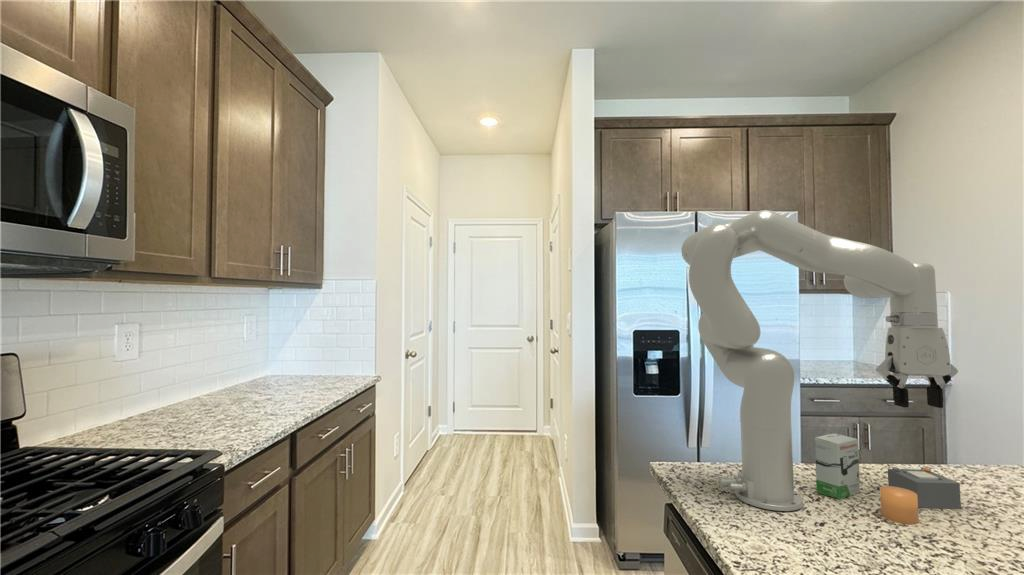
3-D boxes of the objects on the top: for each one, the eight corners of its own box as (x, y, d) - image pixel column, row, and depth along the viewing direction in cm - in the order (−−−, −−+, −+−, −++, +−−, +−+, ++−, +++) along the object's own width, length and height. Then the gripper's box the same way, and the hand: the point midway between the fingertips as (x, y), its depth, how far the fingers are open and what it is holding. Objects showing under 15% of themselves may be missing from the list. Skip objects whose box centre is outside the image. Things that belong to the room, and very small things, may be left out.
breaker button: (920, 499, 94) (919, 477, 94) (907, 492, 97) (906, 471, 97) (939, 500, 93) (938, 477, 94) (925, 493, 97) (924, 471, 97)
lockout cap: (894, 524, 85) (893, 496, 85) (874, 511, 90) (873, 485, 91) (926, 525, 84) (925, 497, 85) (904, 512, 90) (902, 486, 90)
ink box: (839, 500, 95) (837, 443, 96) (815, 492, 100) (812, 437, 100) (862, 492, 99) (859, 437, 100) (837, 485, 104) (834, 432, 104)
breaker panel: (918, 507, 92) (916, 479, 92) (888, 491, 100) (887, 465, 100) (961, 508, 91) (959, 480, 91) (928, 493, 99) (926, 466, 99)
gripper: (883, 321, 94) (887, 409, 93) (973, 321, 93) (979, 410, 92) (859, 321, 102) (862, 402, 101) (942, 320, 100) (947, 403, 99)
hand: (918, 405), depth 96 cm, fingers open, 6 cm apart
